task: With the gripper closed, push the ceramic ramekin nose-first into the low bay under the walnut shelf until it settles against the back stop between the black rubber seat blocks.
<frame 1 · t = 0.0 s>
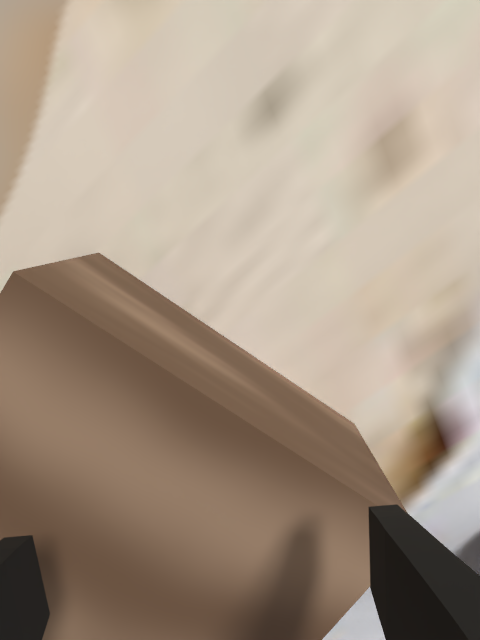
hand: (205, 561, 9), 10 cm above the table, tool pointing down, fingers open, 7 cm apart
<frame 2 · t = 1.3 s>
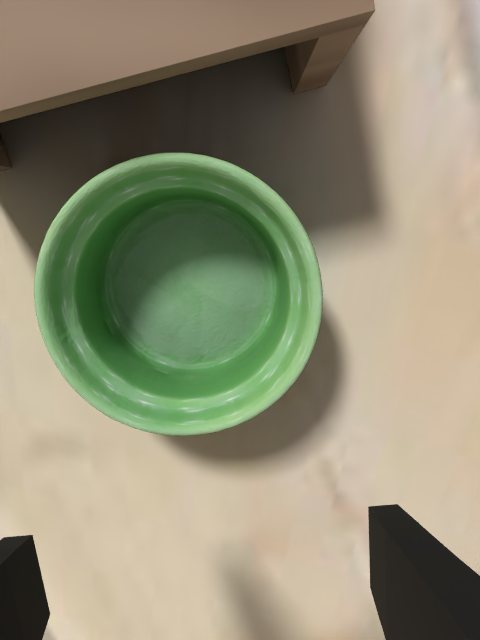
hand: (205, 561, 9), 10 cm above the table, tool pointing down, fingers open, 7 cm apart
walnut shelf: (150, 131, 16), on the table
ramekin: (193, 284, 18), on the table
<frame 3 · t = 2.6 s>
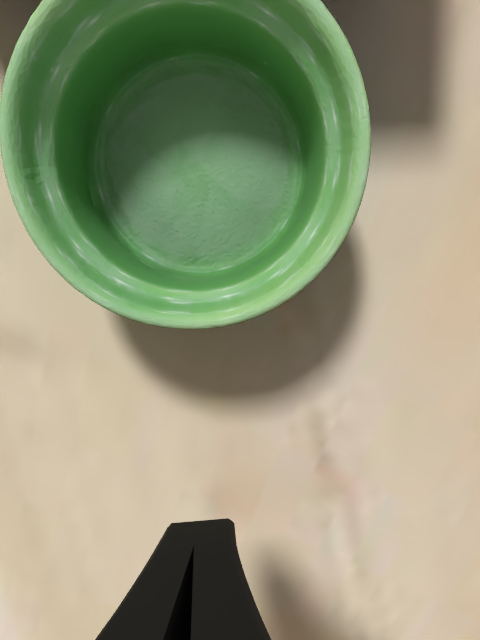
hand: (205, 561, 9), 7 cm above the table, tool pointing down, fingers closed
ramekin: (201, 172, 15), on the table
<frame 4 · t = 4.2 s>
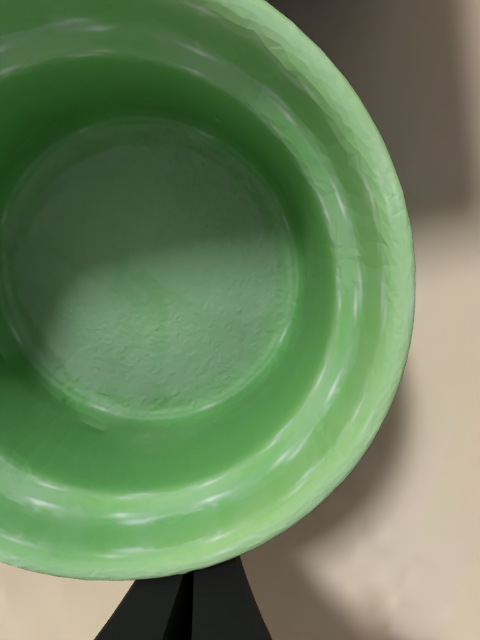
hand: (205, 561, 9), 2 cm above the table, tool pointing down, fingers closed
ramekin: (155, 274, 10), on the table, touching gripper
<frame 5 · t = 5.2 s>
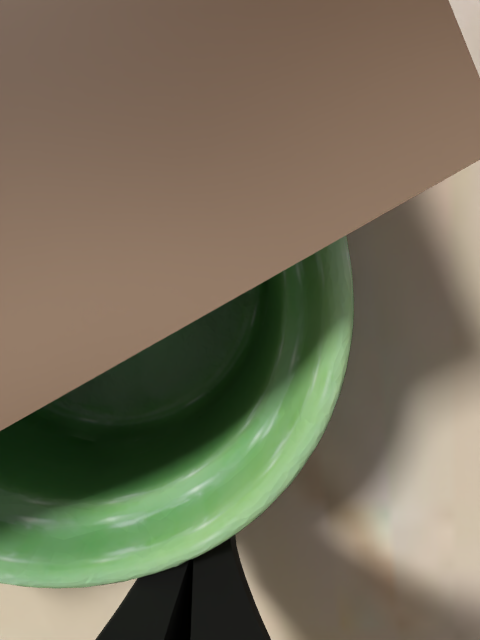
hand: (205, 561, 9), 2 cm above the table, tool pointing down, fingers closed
walnut shelf: (104, 331, 11), on the table
ramekin: (119, 280, 10), on the table, touching gripper
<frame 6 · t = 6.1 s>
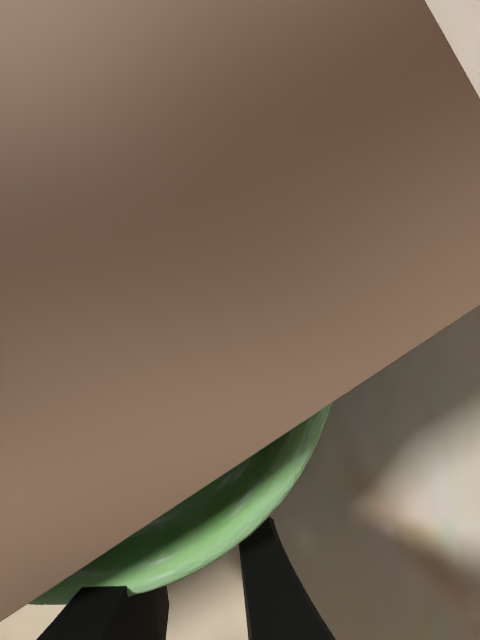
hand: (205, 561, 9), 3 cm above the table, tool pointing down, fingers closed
walnut shelf: (166, 387, 11), on the table
ramekin: (118, 296, 11), on the table, touching gripper, walnut shelf
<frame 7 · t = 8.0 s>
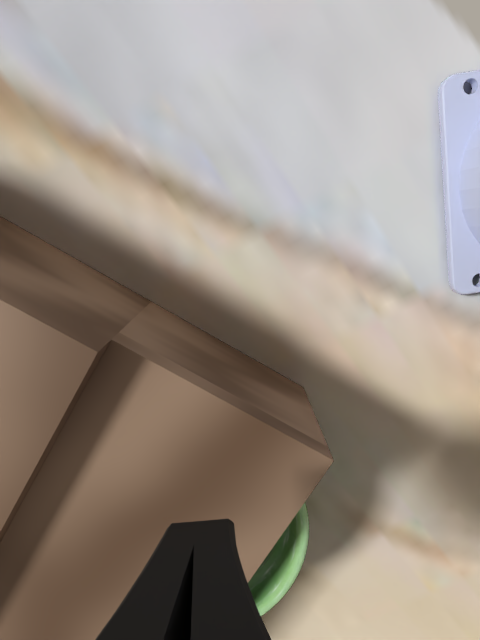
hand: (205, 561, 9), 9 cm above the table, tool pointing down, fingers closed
walnut shelf: (224, 507, 20), on the table
ramekin: (192, 464, 19), on the table, touching walnut shelf
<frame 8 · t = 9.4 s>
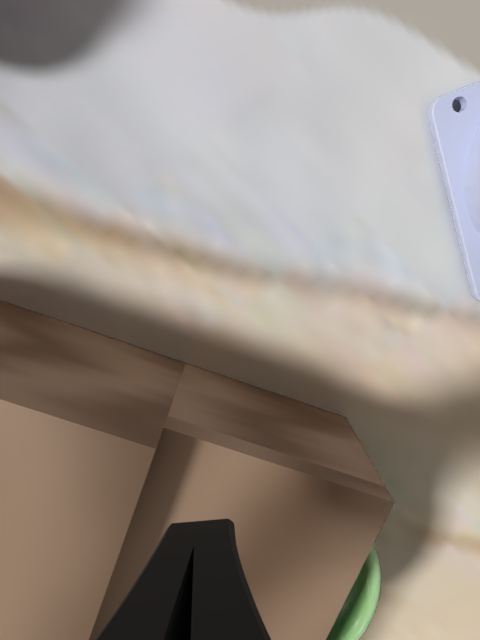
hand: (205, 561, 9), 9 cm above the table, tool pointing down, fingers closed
walnut shelf: (289, 543, 20), on the table
ramekin: (251, 507, 20), on the table, touching walnut shelf
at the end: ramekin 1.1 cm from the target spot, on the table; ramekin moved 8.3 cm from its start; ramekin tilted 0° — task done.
